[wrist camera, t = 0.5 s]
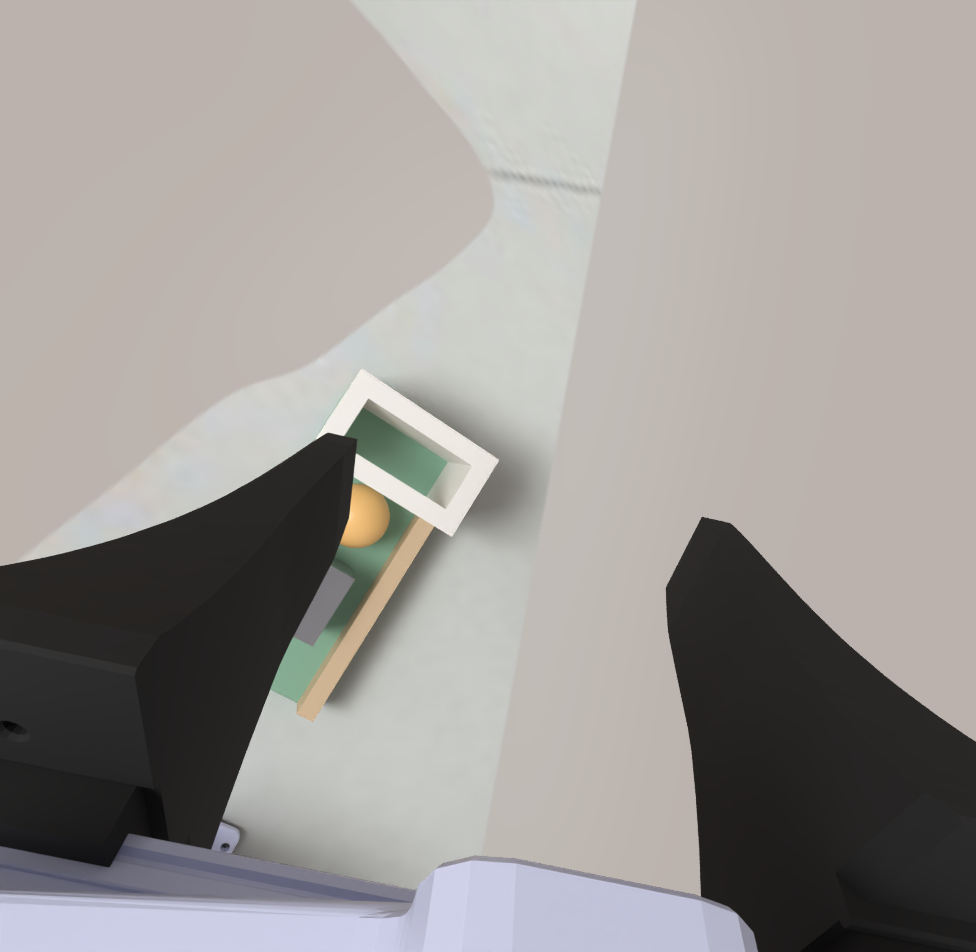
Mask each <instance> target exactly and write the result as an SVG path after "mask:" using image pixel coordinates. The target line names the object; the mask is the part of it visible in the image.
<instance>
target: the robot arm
mask: <svg viewBox="0 0 976 952" xmlns="http://www.w3.org/2000/svg"><path fill="white" fill-rule="evenodd" d="M356 448H357V439H355V438H351V437H346V436H342V435H337V434H333V433H326V434H324V435H323V436H321V437H319V438H318V439H316V440H315V441H313V442H312V443H310V444H309V445H307V446H306V447H304V448H303V449H301V450H300V451H299V452H297V453H296V454H294V455H293V456H291V457H290V458H288V459H287V460H285V461H283V462H282V463H280V464H279V465H277V466H276V467H274V468H272V469H271V470H269V471H268V472H266V473H264V474H263V475H261V476H260V477H258V478H256V479H255V480H253V481H251V482H249V483H247V484H246V485H244V486H242V487H240V488H238V489H237V490H235V491H233V492H231V493H229V494H228V495H226V496H224V497H222V498H220V499H218V500H216V501H214V502H212V503H209V504H207V505H205V506H203V507H201V508H198V509H196V510H194V511H192V512H189V513H187V514H185V515H182V516H180V517H177V518H175V519H172V520H170V521H167V522H164V523H161V524H159V525H156V526H153V527H150V528H147V529H144V530H141V531H139V532H136V533H133V534H130V535H127V536H124V537H121V538H118V539H115V540H111V541H108V542H104V543H101V544H97V545H94V546H90V547H86V548H82V549H78V550H74V551H71V552H67V553H63V554H58V555H54V556H50V557H45V558H40V559H35V560H30V561H25V562H20V563H15V564H10V565H5V566H0V952H976V742H975V741H974V740H972V739H971V738H969V737H968V736H966V735H964V734H963V733H962V732H960V731H959V730H957V729H956V728H954V727H953V726H951V725H950V724H949V723H947V722H946V721H944V720H943V719H941V718H940V717H938V716H937V715H936V714H934V713H933V712H932V711H930V710H929V709H928V708H926V707H925V706H924V705H922V704H921V703H920V702H918V701H917V700H915V699H914V698H913V697H911V696H910V695H908V694H907V693H906V692H905V691H903V690H902V689H901V688H900V687H898V686H897V685H896V684H894V683H893V682H892V681H891V680H889V679H888V678H887V677H886V676H884V675H883V674H882V673H881V672H880V671H878V670H877V669H876V668H875V667H874V666H873V665H871V664H870V663H869V662H868V661H867V660H866V659H864V658H863V657H862V656H861V655H860V654H858V653H857V652H856V651H855V650H854V649H853V648H852V647H850V646H849V645H848V644H847V643H846V642H845V641H844V640H843V639H841V637H840V636H838V635H837V634H836V633H835V632H834V631H833V630H832V629H831V628H830V627H829V626H828V625H827V624H826V623H825V622H824V621H823V620H822V619H821V618H820V617H819V616H818V615H817V614H816V613H815V612H814V611H813V610H812V609H811V608H810V607H809V606H808V605H807V604H806V603H805V602H804V601H803V600H802V599H801V598H800V597H799V596H798V595H797V594H796V592H795V591H794V590H793V589H792V588H791V587H790V586H789V585H788V584H787V583H786V582H785V581H784V580H783V578H782V577H781V576H780V575H779V574H778V573H777V572H776V571H775V570H774V569H773V567H771V565H770V564H769V563H768V562H767V561H766V560H765V559H764V558H763V557H762V555H761V554H760V553H759V552H758V551H757V550H756V549H755V548H754V547H753V546H752V544H751V543H750V542H749V541H748V540H747V539H746V538H745V537H744V536H743V535H742V534H741V533H740V532H739V531H738V530H737V529H736V528H735V527H734V526H733V525H732V524H730V523H726V522H723V521H718V520H714V519H709V518H704V517H702V518H701V520H700V522H699V524H698V526H697V528H696V530H695V532H694V533H693V535H692V538H691V539H690V541H689V543H688V545H687V547H686V549H685V551H684V553H683V555H682V557H681V559H680V561H679V563H678V565H677V567H676V569H675V571H674V573H673V575H672V577H671V579H670V581H669V583H668V584H667V587H666V605H667V623H668V633H669V639H670V644H671V649H672V654H673V659H674V663H675V669H676V674H677V678H678V683H679V688H680V693H681V698H682V702H683V707H684V712H685V717H686V722H687V726H688V732H689V738H690V744H691V751H692V760H693V772H694V782H695V793H696V805H697V821H698V836H699V851H700V853H699V854H700V881H701V897H700V896H698V895H694V894H689V893H684V892H679V891H674V890H669V889H664V888H659V887H654V886H649V885H644V884H639V883H634V882H630V881H624V880H620V879H614V878H609V877H605V876H600V875H595V874H590V873H584V872H580V871H575V870H570V869H565V868H560V867H555V866H550V865H545V864H540V863H535V862H530V861H525V860H520V859H515V858H502V857H486V856H472V857H468V858H463V859H459V860H455V861H451V862H446V863H443V864H441V865H440V866H439V867H437V868H436V869H435V870H434V871H433V872H432V873H431V874H430V875H429V876H427V877H426V878H425V879H424V880H423V881H422V882H421V883H420V884H419V885H418V888H417V891H416V890H411V889H406V888H401V887H396V886H391V885H386V884H381V883H376V882H371V881H366V880H361V879H356V878H351V877H346V876H341V875H336V874H331V873H326V872H321V871H316V870H311V869H306V868H300V867H295V866H290V865H285V864H280V863H275V862H270V861H265V860H260V859H255V858H250V857H245V856H240V855H235V854H231V853H232V851H233V850H234V848H235V847H236V845H237V843H238V841H239V839H240V832H239V830H238V829H237V828H235V827H232V826H230V825H228V824H225V823H223V822H221V820H222V817H223V814H224V811H225V809H226V806H227V803H228V800H229V798H230V795H231V792H232V789H233V787H234V784H235V781H236V778H237V776H238V773H239V770H240V767H241V765H242V762H243V759H244V756H245V754H246V751H247V748H248V746H249V743H250V740H251V738H252V735H253V733H254V730H255V727H256V725H257V722H258V719H259V717H260V714H261V712H262V709H263V706H264V704H265V701H266V699H267V696H268V694H269V691H270V689H271V686H272V684H273V681H274V679H275V676H276V674H277V671H278V668H279V666H280V664H281V661H282V659H283V657H284V655H285V653H286V651H287V649H288V646H289V644H290V642H291V640H292V639H293V637H294V635H295V633H296V631H297V629H298V627H299V625H300V623H301V621H302V619H303V618H304V616H305V614H306V612H307V610H308V608H309V606H310V604H311V602H312V600H313V599H314V597H315V595H316V593H317V591H318V589H319V587H320V585H321V583H322V581H323V579H324V578H325V576H326V574H327V572H328V570H329V568H330V566H331V564H332V562H333V560H334V558H335V555H336V553H337V550H338V547H339V545H340V542H341V539H342V536H343V534H344V531H345V528H346V525H347V522H348V520H349V515H350V505H351V496H352V486H353V477H354V467H355V458H356ZM223 843H228V844H229V845H230V846H229V847H227V848H223V847H222V846H221V845H222V844H223Z"/></svg>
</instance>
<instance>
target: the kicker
mask: <svg viewBox="0 0 976 952" xmlns="http://www.w3.org/2000/svg"><path fill="white" fill-rule="evenodd" d="M354 580H355V577H354V574H353V570H352V568H351V567H349V566H347V565H346V564H344V563H342V562H340V561H339V560H337V559H335V558H334V560H333V562H332V564H331V566H330V568H329V570H328V572H327V574H326V576H325V578H324V579H323V581H322V583H321V585H320V587H319V589H318V591H317V593H316V595H315V597H314V599H313V600H312V602H311V604H310V606H309V608H308V610H307V612H306V614H305V616H304V618H303V619H302V621H301V623H300V625H299V627H298V629H297V631H296V633H295V635H294V637H295V638H297V639H299V640H301V641H302V642H304V643H306V644H308V645H310V646H312V647H313V646H314V644H315V642H316V641H317V639H318V638H319V636H320V635H321V633H322V631H323V630H324V628H325V627H326V625H327V623H328V622H329V620H330V619H331V617H332V615H333V614H334V612H335V611H336V609H337V607H338V606H339V604H340V603H341V601H342V600H343V598H344V596H345V595H346V593H347V592H348V590H349V588H350V587H351V585H352V584H353V582H354Z"/></svg>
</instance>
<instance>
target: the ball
mask: <svg viewBox="0 0 976 952" xmlns="http://www.w3.org/2000/svg"><path fill="white" fill-rule="evenodd" d="M389 520H390V511H389V507H388V504H387V501H386V500H385V498H384V496H383V495H382V494H381V493H379V492H377V491H376V490H374V489H373V488H371V487H369V486H368V485H366V484H359V483H355V484H353V486H352V496H351V505H350V515H349V520H348V522H347V525H346V528H345V531H344V534H343V536H342V539H341V542H340V544H341V545H343V546H345V547H349V548H364V547H367V546H370V545H372V544H374V543H375V542H377V541H378V540H379V539H380V538H381V537H382V536H383V534H384V533H385V531H386V530H387V527H388V525H389Z"/></svg>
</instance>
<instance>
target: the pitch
mask: <svg viewBox="0 0 976 952" xmlns="http://www.w3.org/2000/svg"><path fill="white" fill-rule="evenodd" d="M326 433H333V434H337V435H342V436H346V437H351V438H355V439H357V448H356V458H355V467H354V477H353V484H355V483H359V484H366V485H368V486H369V487H371V488H373V489H374V490H376V491H377V492H379V493H381V494H382V495H383V496H384V498H385V500H386V501H387V504H388V507H389V511H390V520H389V525H388V527H387V530H386V531H385V533H384V534H383V536H382V537H381V538H380V539H379V540H378V541H377V542H375V543H374V544H372V545H370V546H367V547H364V548H349V547H345V546H343V545H341V544H340V545H339V547H338V550H337V553H336V555H335V559H337V560H339V561H340V562H342V563H344V564H346V565H347V566H349V567H351V568H352V570H353V574H354V577H355V580H354V582H353V584H352V585H351V587H350V588H349V590H348V592H347V593H346V595H345V596H344V598H343V600H342V601H341V603H340V604H339V606H338V607H337V609H336V611H335V612H334V614H333V615H332V617H331V619H330V620H329V622H328V623H327V625H326V627H325V628H324V630H323V631H322V633H321V635H320V636H319V638H318V639H317V641H316V642H315V644H314V646H313V647H312V646H310V645H308V644H306V643H304V642H302V641H301V640H299V639H297V638H295V637H293V639H292V640H291V642H290V644H289V646H288V649H287V651H286V653H285V655H284V657H283V659H282V661H281V664H280V666H279V668H278V671H277V674H276V676H275V679H274V681H273V684H272V686H271V689H270V690H272V691H274V692H277V693H279V694H281V695H283V696H285V697H287V698H289V699H291V700H293V701H295V702H297V714H298V715H300V716H302V717H304V718H306V719H308V720H310V721H312V722H313V721H314V719H315V718H316V716H317V714H318V713H319V711H320V710H321V708H322V706H323V705H324V703H325V702H326V700H327V698H328V697H329V695H330V694H331V692H332V690H333V689H334V687H335V685H336V684H337V682H338V681H339V679H340V677H341V676H342V674H343V673H344V671H345V669H346V668H347V666H348V665H349V663H350V661H351V660H352V658H353V656H354V655H355V653H356V652H357V650H358V648H359V647H360V645H361V644H362V642H363V640H364V639H365V637H366V636H367V634H368V632H369V631H370V629H371V627H372V626H373V624H374V623H375V621H376V619H377V618H378V616H379V615H380V613H381V611H382V610H383V608H384V607H385V605H386V603H387V602H388V600H389V598H390V597H391V595H392V594H393V592H394V590H395V589H396V587H397V586H398V584H399V582H400V581H401V579H402V578H403V576H404V574H405V573H406V571H407V569H408V568H409V566H410V565H411V563H412V561H413V560H414V558H415V557H416V555H417V553H418V552H419V550H420V549H421V547H422V545H423V544H424V542H425V540H426V539H427V537H428V536H429V534H430V532H431V531H432V529H433V528H434V526H435V527H436V528H438V529H440V530H441V531H443V532H445V533H446V534H448V535H449V536H451V537H452V536H453V534H454V533H455V531H456V529H457V528H458V526H459V525H460V523H461V521H462V520H463V518H464V516H465V515H466V513H467V512H468V510H469V508H470V507H471V505H472V504H473V502H474V500H475V499H476V497H477V495H478V494H479V492H480V491H481V489H482V487H483V486H484V484H485V482H486V481H487V479H488V478H489V476H490V474H491V473H492V471H493V469H494V468H495V466H496V465H497V463H498V461H499V459H497V458H496V457H494V456H493V455H491V454H490V453H488V452H487V451H485V450H484V449H482V448H481V447H479V446H478V445H476V444H475V443H473V442H472V441H470V440H469V439H467V438H466V437H464V436H463V435H461V434H460V433H458V432H457V431H455V430H454V429H452V428H451V427H449V426H448V425H446V424H445V423H443V422H442V421H440V420H439V419H437V418H436V417H434V416H433V415H431V414H429V413H428V412H426V411H425V410H423V409H422V408H420V407H419V406H417V405H416V404H414V403H413V402H411V401H410V400H408V399H407V398H405V397H404V396H402V395H401V394H399V393H398V392H396V391H395V390H393V389H392V388H390V387H389V386H387V385H386V384H384V383H383V382H381V381H380V380H378V379H377V378H375V377H374V376H372V375H371V374H369V373H368V372H366V371H365V370H363V369H361V370H360V372H359V373H358V375H357V376H356V378H355V379H354V381H353V382H352V384H351V385H350V387H349V389H348V390H347V392H346V393H345V395H344V396H343V398H342V399H341V401H340V402H339V404H338V405H337V407H336V408H335V410H334V412H333V413H332V415H331V416H330V418H329V419H328V421H327V422H326V424H325V425H324V427H323V428H322V430H321V431H320V433H319V435H318V436H317V438H316V439H318V438H319V437H321V436H323V435H324V434H326ZM316 439H315V440H316Z"/></svg>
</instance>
